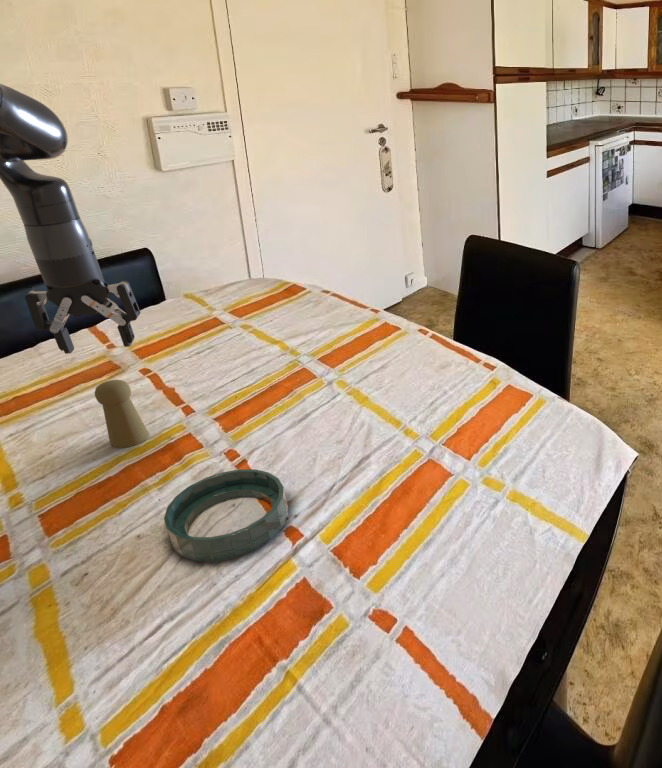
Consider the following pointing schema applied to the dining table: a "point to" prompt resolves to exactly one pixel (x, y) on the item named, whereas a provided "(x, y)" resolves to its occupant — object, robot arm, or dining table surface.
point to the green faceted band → (218, 491)
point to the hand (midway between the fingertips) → (99, 348)
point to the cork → (120, 414)
